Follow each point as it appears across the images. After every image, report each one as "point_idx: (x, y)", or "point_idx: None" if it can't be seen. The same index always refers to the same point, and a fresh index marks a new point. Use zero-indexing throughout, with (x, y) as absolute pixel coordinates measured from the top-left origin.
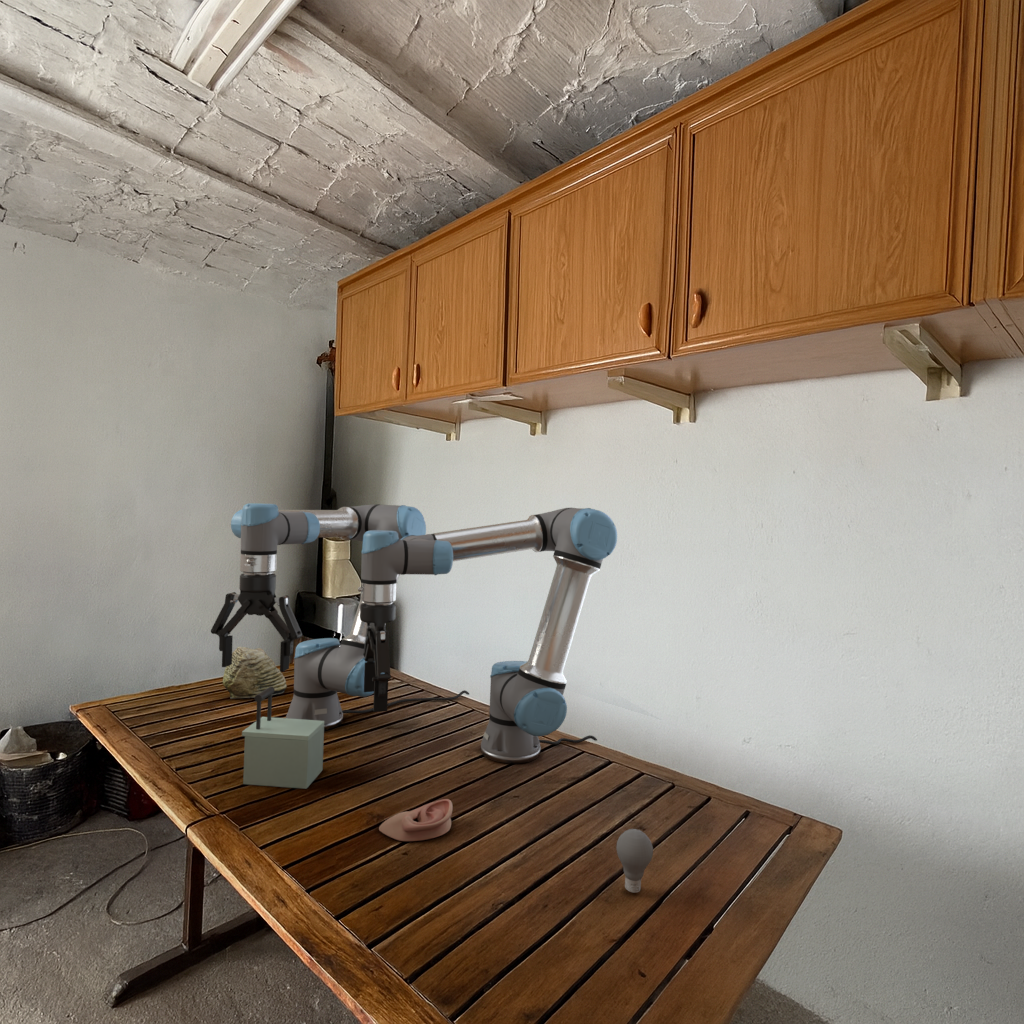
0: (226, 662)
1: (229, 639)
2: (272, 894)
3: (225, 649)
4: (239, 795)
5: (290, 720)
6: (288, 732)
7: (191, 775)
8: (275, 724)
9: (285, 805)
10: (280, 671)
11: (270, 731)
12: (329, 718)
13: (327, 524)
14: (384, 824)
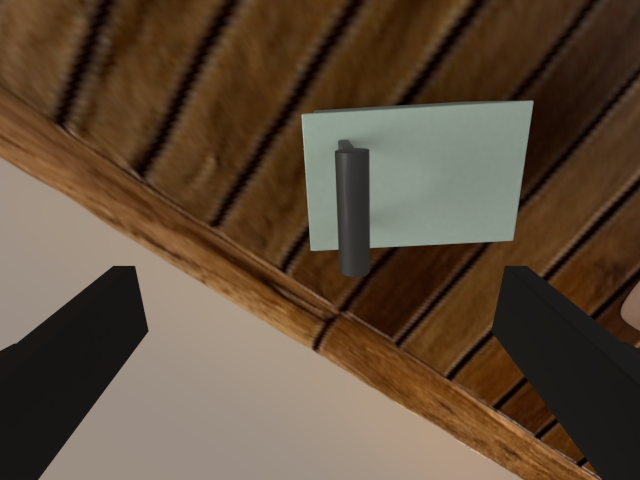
0: (133, 333)
1: (7, 442)
2: (498, 447)
3: (81, 418)
4: (338, 251)
5: (414, 128)
6: (446, 228)
7: (191, 193)
8: (380, 175)
9: (438, 268)
10: (495, 331)
11: (391, 233)
12: None
13: None
14: (635, 314)
